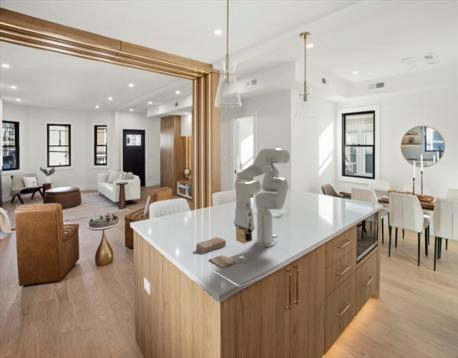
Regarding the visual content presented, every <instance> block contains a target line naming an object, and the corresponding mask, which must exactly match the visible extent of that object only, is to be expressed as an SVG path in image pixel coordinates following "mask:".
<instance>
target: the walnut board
mask: <svg viewBox="0 0 458 358" xmlns="http://www.w3.org/2000/svg"><path fill="white" fill-rule="evenodd" d="M208 261H209V262H211V263H213V264H214V265H216V266H217V267H220V268H221V269H227V268H228V267H231V266H234V265H236V264H238V262H237V261H235V260H233V259H231V258H229V256H226V255H223V254H221V255H219V256H216V257H215V256H214V257H213V258H209V259H208Z"/></svg>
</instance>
